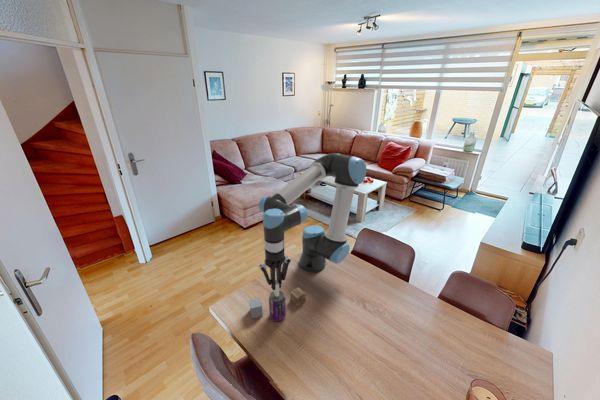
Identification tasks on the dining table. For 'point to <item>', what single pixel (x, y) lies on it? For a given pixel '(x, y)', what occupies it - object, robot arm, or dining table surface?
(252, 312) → the slate block
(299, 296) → the walnut block
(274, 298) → the beverage can
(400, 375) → the dining table surface
